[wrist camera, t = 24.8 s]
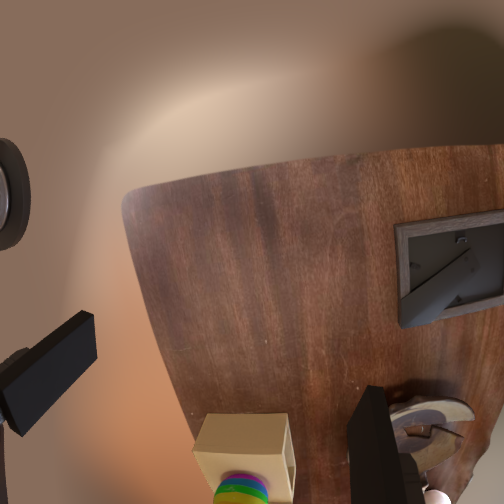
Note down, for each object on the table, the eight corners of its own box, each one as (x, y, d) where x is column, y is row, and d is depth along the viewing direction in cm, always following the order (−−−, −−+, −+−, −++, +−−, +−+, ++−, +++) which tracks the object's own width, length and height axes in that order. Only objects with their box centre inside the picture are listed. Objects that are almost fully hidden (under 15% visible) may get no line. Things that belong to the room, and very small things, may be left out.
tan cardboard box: (227, 466, 53) (215, 506, 43) (207, 413, 49) (188, 457, 39) (296, 467, 50) (291, 510, 40) (287, 412, 46) (280, 462, 36)
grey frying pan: (482, 366, 39) (501, 394, 32) (433, 473, 47) (439, 499, 40) (355, 379, 43) (360, 414, 35) (333, 484, 51) (333, 513, 43)
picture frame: (397, 322, 39) (504, 298, 35) (401, 329, 37) (510, 303, 34) (393, 224, 36) (508, 208, 32) (397, 228, 34) (515, 210, 30)
